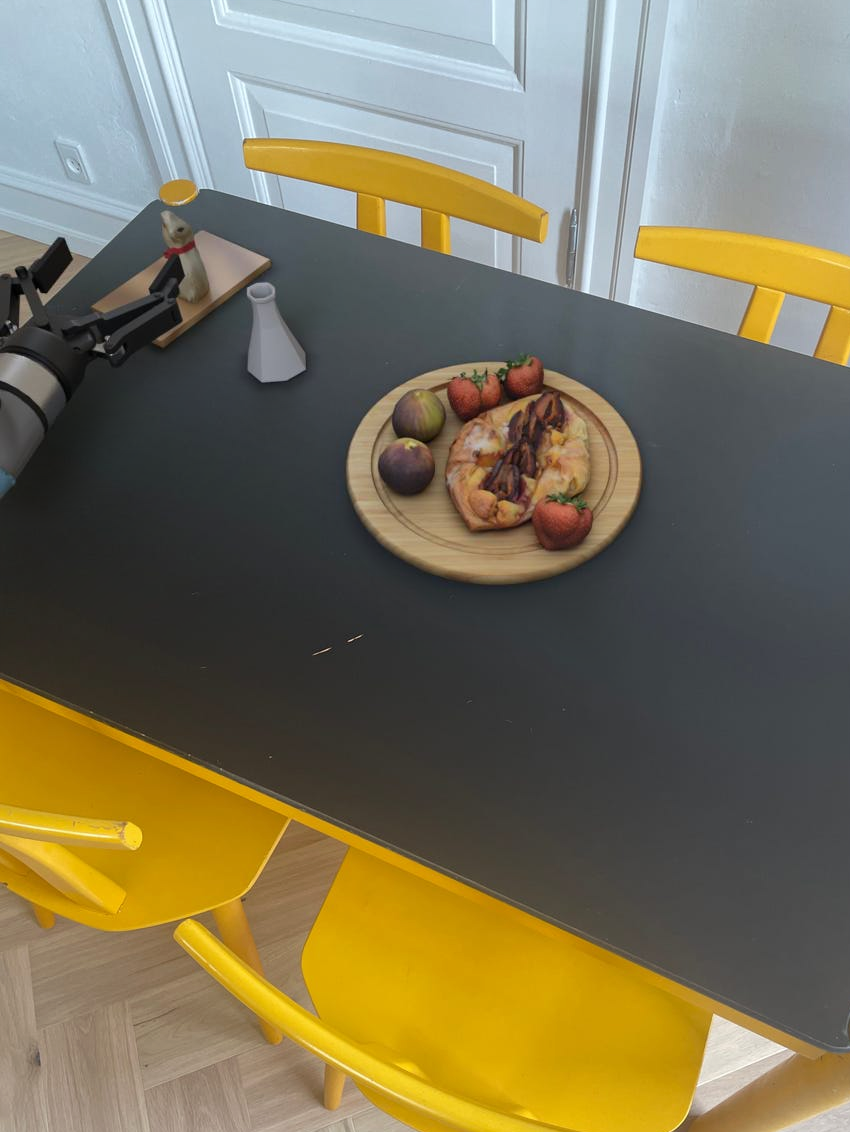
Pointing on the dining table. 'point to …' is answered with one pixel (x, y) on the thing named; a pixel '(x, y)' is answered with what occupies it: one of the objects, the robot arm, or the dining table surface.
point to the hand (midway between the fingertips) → (122, 256)
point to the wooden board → (225, 276)
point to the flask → (271, 339)
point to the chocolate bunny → (185, 256)
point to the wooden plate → (494, 472)
